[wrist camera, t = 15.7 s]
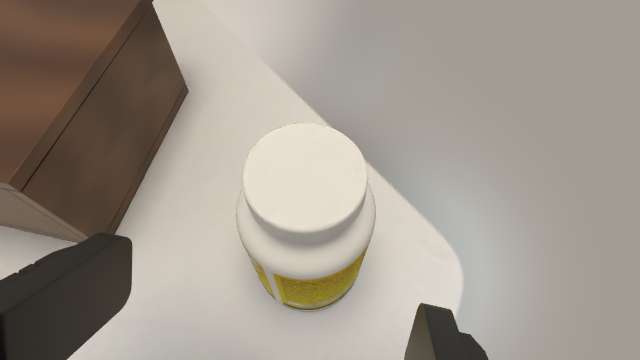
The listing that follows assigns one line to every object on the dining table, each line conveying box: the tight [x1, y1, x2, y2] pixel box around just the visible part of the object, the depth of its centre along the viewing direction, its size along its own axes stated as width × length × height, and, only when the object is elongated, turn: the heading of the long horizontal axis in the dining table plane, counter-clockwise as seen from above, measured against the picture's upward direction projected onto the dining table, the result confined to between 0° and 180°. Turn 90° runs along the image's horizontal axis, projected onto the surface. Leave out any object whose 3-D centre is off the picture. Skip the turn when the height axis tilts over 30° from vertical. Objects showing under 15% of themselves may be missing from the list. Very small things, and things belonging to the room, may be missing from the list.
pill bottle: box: [236, 123, 376, 311], centre depth 18 cm, size 6×6×11 cm
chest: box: [0, 3, 188, 243], centre depth 24 cm, size 14×12×8 cm
